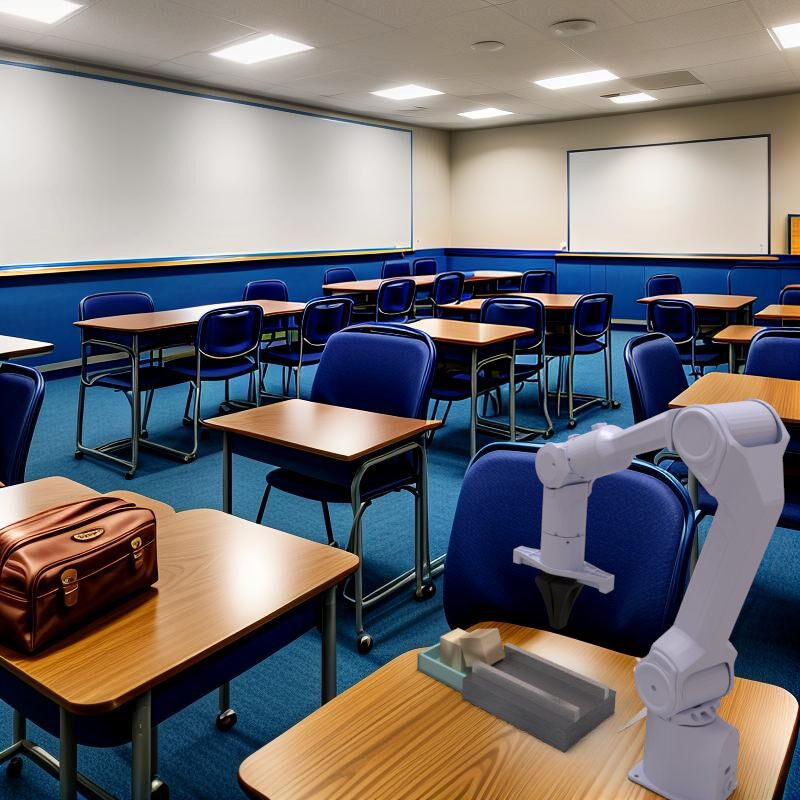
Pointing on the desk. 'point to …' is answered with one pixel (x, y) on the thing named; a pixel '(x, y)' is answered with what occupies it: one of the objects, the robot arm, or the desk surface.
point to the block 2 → (482, 646)
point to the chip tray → (440, 668)
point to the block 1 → (453, 650)
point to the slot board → (539, 696)
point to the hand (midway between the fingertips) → (558, 625)
